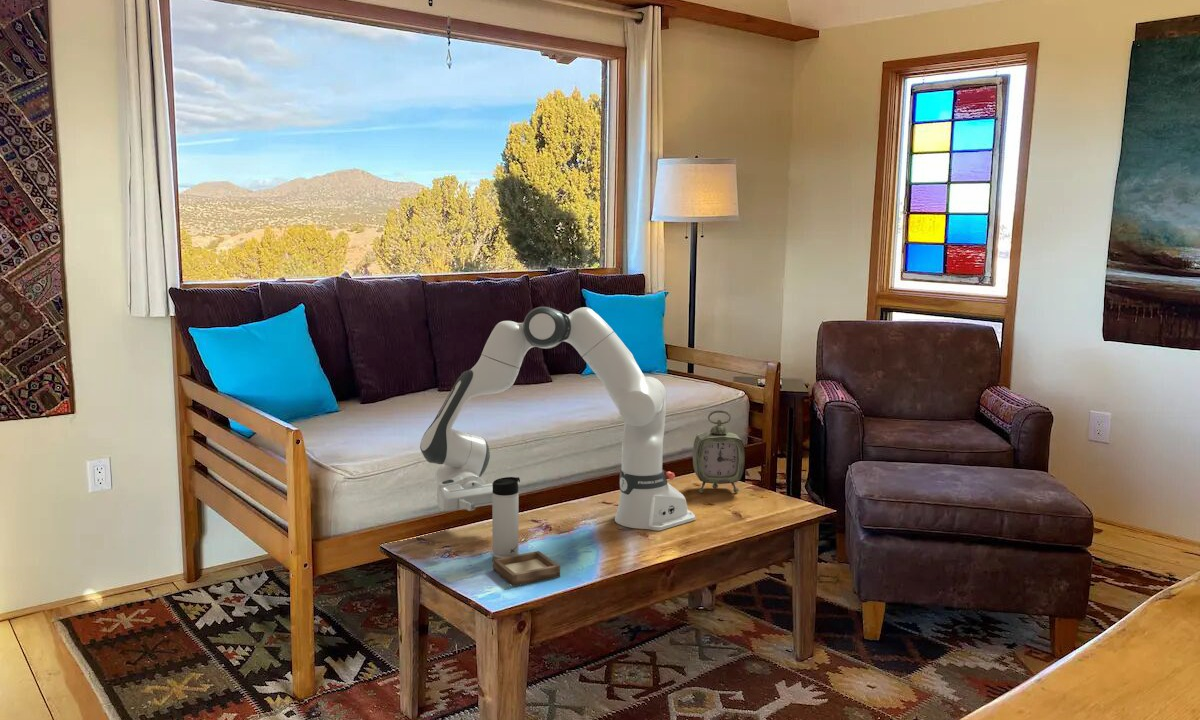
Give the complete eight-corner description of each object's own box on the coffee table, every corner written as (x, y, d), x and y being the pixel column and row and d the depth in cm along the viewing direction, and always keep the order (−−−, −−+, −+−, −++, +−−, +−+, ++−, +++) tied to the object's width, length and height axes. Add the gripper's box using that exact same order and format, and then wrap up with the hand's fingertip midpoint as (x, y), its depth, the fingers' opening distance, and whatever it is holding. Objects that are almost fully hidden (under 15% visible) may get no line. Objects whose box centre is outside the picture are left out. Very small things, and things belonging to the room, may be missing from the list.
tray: (538, 561, 224) (538, 550, 223) (560, 576, 214) (560, 566, 214) (492, 570, 218) (492, 559, 217) (512, 586, 208) (512, 575, 208)
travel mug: (519, 562, 223) (519, 482, 219) (492, 563, 222) (491, 482, 219) (520, 553, 229) (520, 474, 226) (493, 553, 228) (492, 474, 225)
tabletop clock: (695, 495, 278) (698, 413, 275) (690, 486, 287) (692, 407, 283) (743, 494, 280) (746, 413, 276) (736, 486, 288) (739, 407, 285)
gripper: (505, 496, 248) (527, 510, 237) (432, 507, 238) (452, 523, 226) (505, 473, 247) (527, 486, 236) (431, 483, 237) (451, 498, 225)
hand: (490, 504), depth 231 cm, fingers open, 8 cm apart
